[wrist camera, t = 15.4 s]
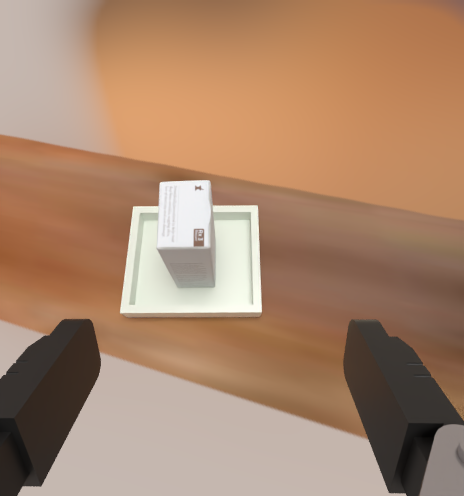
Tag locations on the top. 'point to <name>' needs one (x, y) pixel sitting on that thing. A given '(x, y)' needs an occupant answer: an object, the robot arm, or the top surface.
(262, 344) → the top surface
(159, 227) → the skincare box
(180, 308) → the tray
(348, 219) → the top surface
